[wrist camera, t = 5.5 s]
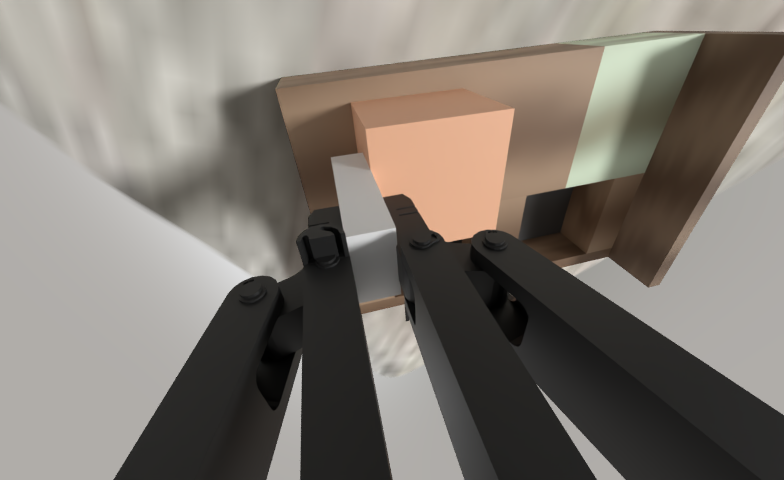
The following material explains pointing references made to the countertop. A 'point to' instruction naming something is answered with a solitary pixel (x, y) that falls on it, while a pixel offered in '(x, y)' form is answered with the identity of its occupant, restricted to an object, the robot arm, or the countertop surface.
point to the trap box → (575, 134)
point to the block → (439, 155)
